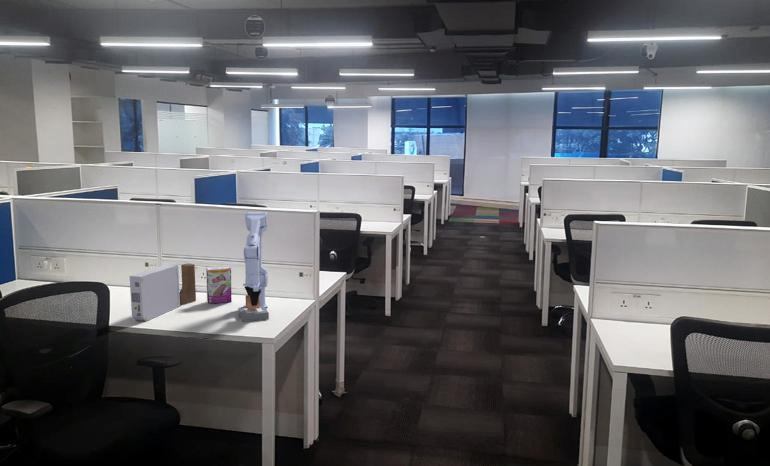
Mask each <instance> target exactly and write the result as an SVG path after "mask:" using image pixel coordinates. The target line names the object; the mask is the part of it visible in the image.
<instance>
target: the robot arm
mask: <svg viewBox="0 0 770 466" xmlns="http://www.w3.org/2000/svg"><path fill="white" fill-rule="evenodd" d="M268 216H269V215H268V212H267V211H247V212H246V213H245V216H244V221H245V222H244V223H245V226H246V229H247V231H248V232H249V234H248V235H246V242H245V247H243V259H244V264H245V265H244V267H245V277H244V278H245V281H244V282H245V283H243V284H242V286H244V289H245V292H246V294H247V295H250V299H251V304H252V306H257V303H258V298H259V304H260V306H264V307H265V309H267V308H268V305H267V304H266V288H267V287H268V286H269V275H268V270H267V269H266V268H264V267H263V266H262V265H263V263H262V262H263V260H262V259H263V235H264V232H266V231H267V230H268V220H269V217H268Z"/></svg>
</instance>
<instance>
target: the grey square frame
mask: <svg viewBox="0 0 770 466" xmlns="http://www.w3.org/2000/svg"><path fill="white" fill-rule="evenodd" d="M237 309H238V316H239V318H240V319H241V321H242V322H243V323H245V322H255V321H263V320H269V319H270V318H269V317H270V313H269V311H268V310H267V308H265V307H264V306H260V308H258V309H249V310H248V309H247V307H239V308H237Z"/></svg>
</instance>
